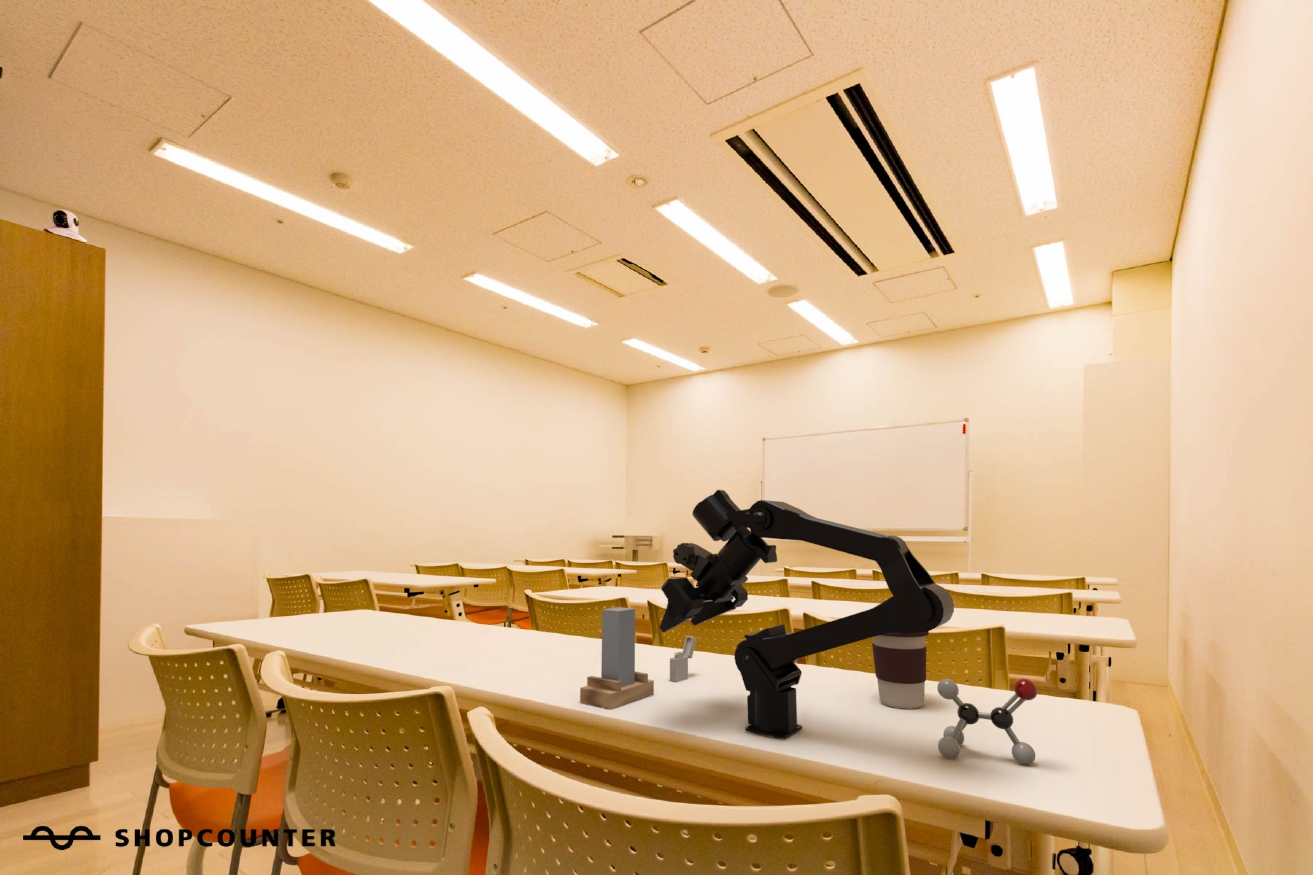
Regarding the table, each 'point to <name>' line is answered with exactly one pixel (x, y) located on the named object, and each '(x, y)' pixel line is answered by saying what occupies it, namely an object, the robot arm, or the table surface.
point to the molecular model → (998, 716)
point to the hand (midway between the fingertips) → (677, 626)
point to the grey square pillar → (618, 645)
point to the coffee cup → (901, 669)
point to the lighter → (682, 661)
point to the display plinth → (615, 691)
